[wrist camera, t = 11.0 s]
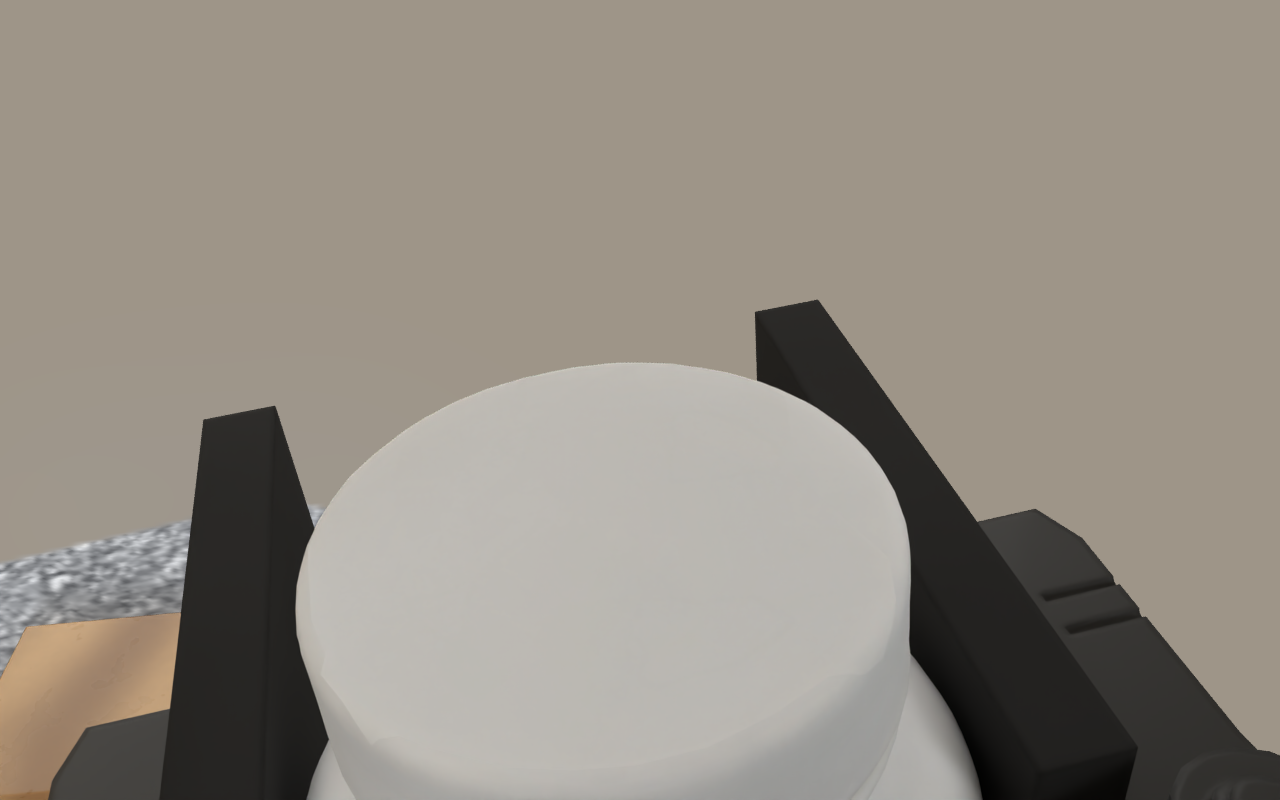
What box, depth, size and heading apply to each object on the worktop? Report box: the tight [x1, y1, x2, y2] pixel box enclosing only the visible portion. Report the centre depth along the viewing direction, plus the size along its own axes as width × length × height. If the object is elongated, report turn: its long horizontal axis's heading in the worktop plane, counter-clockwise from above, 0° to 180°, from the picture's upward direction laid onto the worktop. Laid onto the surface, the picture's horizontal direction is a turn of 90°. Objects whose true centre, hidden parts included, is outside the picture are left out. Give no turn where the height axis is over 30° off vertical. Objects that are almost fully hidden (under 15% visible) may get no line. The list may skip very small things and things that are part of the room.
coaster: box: [0, 612, 181, 800], centre depth 34 cm, size 6×6×1 cm
